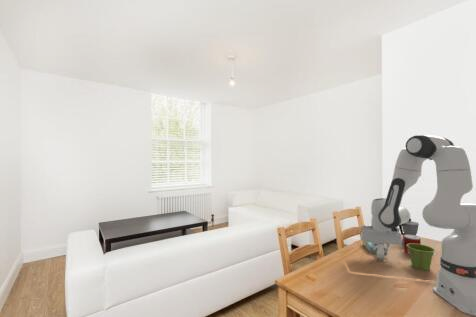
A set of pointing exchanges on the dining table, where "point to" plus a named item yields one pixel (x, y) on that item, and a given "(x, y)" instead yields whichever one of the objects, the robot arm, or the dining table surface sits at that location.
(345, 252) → the dining table surface
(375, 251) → the socket box
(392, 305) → the dining table surface
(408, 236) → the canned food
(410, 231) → the coffeepot
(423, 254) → the plant pot
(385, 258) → the deck
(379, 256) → the plug
